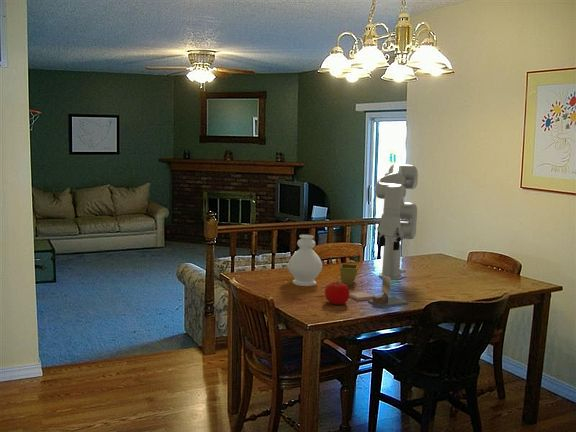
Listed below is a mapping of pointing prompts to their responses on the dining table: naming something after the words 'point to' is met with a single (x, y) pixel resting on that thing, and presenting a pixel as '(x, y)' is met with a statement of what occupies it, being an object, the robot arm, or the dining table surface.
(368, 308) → the dining table surface
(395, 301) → the trivet
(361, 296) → the tile
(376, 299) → the turner
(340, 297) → the tomato
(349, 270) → the flower pot
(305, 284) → the decorative vase
